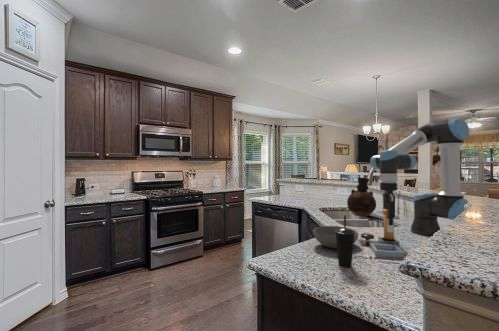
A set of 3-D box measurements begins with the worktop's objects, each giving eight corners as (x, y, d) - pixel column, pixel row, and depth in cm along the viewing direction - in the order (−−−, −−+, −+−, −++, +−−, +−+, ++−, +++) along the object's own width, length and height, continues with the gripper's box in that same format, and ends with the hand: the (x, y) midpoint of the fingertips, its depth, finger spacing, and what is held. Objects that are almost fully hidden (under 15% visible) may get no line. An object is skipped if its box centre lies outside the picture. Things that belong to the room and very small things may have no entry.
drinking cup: (354, 263, 114) (354, 214, 114) (355, 269, 107) (355, 217, 107) (335, 261, 117) (335, 213, 117) (334, 267, 110) (334, 216, 110)
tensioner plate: (396, 244, 140) (396, 233, 140) (403, 252, 128) (403, 240, 128) (357, 242, 144) (358, 231, 144) (361, 249, 132) (361, 237, 132)
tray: (396, 252, 128) (396, 244, 128) (404, 261, 117) (404, 252, 117) (370, 251, 130) (370, 243, 130) (375, 259, 119) (375, 250, 119)
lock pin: (393, 236, 137) (393, 209, 137) (397, 239, 132) (396, 210, 132) (381, 236, 139) (381, 208, 139) (384, 239, 133) (383, 210, 133)
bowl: (359, 244, 142) (359, 228, 142) (356, 256, 123) (356, 238, 123) (317, 239, 151) (317, 224, 151) (308, 250, 132) (308, 233, 132)
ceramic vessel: (346, 217, 214) (346, 177, 213) (347, 213, 230) (347, 176, 230) (376, 218, 206) (376, 178, 206) (375, 214, 222) (375, 177, 222)
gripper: (376, 180, 144) (376, 226, 145) (384, 183, 127) (385, 234, 128) (392, 180, 143) (392, 226, 143) (402, 183, 126) (403, 235, 126)
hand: (388, 230), depth 135 cm, fingers closed on lock pin, 4 cm apart
